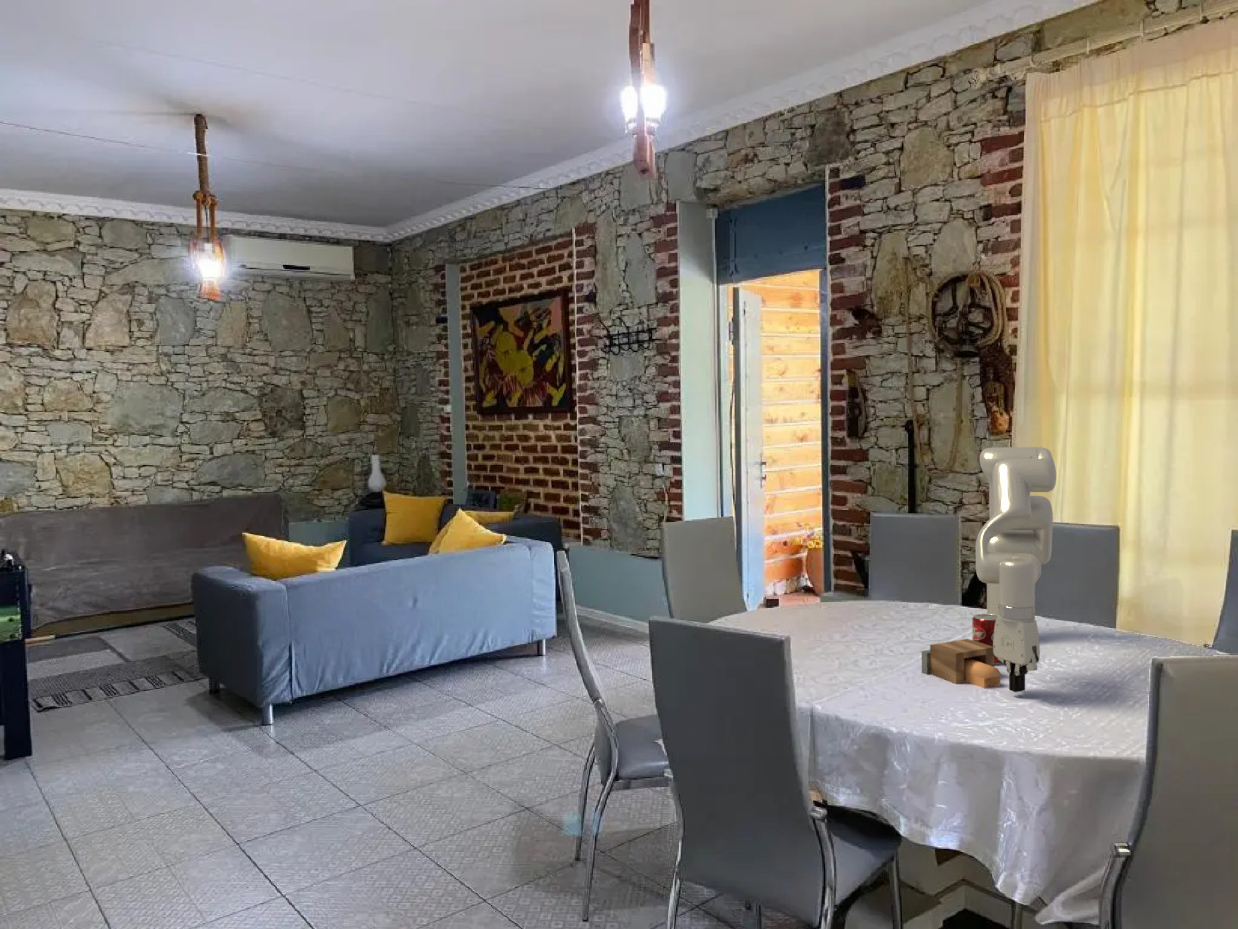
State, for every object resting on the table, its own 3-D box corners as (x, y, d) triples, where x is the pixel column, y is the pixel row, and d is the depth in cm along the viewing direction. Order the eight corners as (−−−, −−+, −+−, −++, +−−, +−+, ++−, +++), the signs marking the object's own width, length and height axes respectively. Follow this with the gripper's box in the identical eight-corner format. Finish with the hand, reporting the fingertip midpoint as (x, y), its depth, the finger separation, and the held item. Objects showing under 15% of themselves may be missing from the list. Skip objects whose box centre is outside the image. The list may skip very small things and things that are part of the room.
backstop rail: (965, 665, 237) (964, 644, 236) (970, 667, 235) (970, 646, 234) (921, 672, 231) (921, 651, 231) (927, 674, 229) (927, 653, 229)
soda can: (1001, 659, 241) (1001, 614, 240) (1003, 666, 234) (1003, 620, 233) (972, 657, 243) (971, 612, 242) (973, 664, 236) (972, 619, 236)
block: (967, 667, 234) (967, 638, 234) (994, 676, 226) (994, 647, 225) (930, 674, 230) (930, 644, 229) (955, 683, 222) (955, 653, 221)
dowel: (948, 675, 229) (948, 656, 228) (964, 673, 231) (964, 653, 230) (984, 689, 218) (984, 668, 217) (1000, 686, 219) (1000, 665, 219)
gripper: (980, 607, 216) (980, 684, 217) (1030, 621, 202) (1030, 702, 203) (1004, 604, 218) (1005, 679, 220) (1055, 617, 205) (1055, 697, 206)
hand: (1017, 690), depth 211 cm, fingers closed
